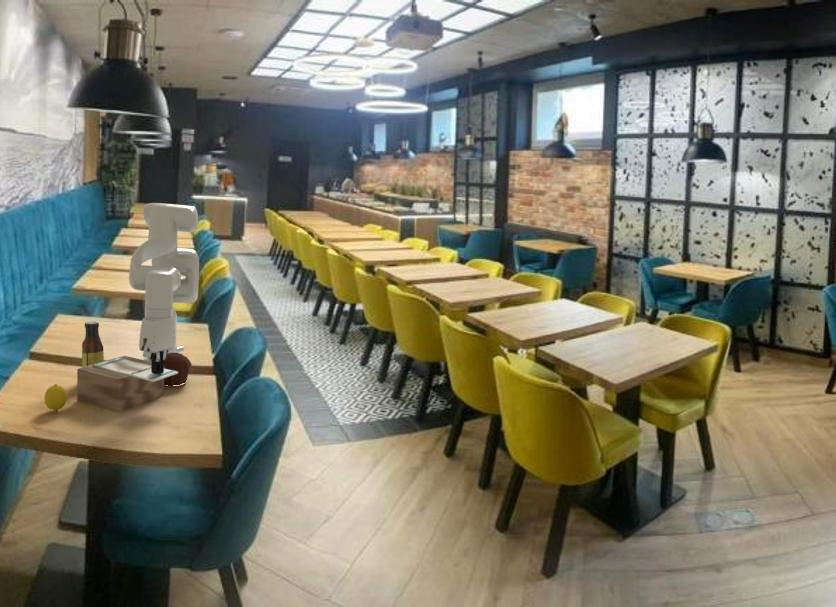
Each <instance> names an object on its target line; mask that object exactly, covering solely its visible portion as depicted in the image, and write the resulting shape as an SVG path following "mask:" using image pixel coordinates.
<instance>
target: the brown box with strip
mask: <svg viewBox="0 0 836 607" xmlns="http://www.w3.org/2000/svg"><path fill="white" fill-rule="evenodd" d="M149 369H151V362H150V361H145V360H144V359H140V358H136V357H133V356H132V357H131V356H128V355H122V356H119V357H115V358H112V359H111V358H110V359H108V360H104V362H100V363H96V364H93V365H89V366H86V367H79V368H77V369H76V371H77V372H76V373H77V374H76V375H77V377H76V379H77V380H76V381H77V382H76V383H77V384H76V385H77V386H76V387H77V389H76V394H77V395H76V396H77V399H76V400H77V402H79V403H80V402H81V403H83V404H84V403H85V404H88V405H91V406H95V407H99V408H103V409H106V410H109V411H112V412H113V411H114V412H117V413H121V412H123V411H126V410H128V409H131V408H133V407H134V408H135V407H137V406H139V405H142V404H144V403H145V404H146V402H150V401H153V400H154V399H157V398H160V397H163V396H164V393H165V392H164V391H165V388H164V387H165V386H164V378H163V379H160V380H157V381H155V382H153V381H149V380H145V379H141V378H137V377H133V376H132V375H133V374H136V373H139V372H143V371H146V370H149ZM162 395H163V396H162Z"/></svg>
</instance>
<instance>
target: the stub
mask: <svg viewBox="0 0 836 607" xmlns="http://www.w3.org/2000/svg"><path fill="white" fill-rule="evenodd" d="M175 374H178V372H177V371H174V370H168V369H164V373H162V374H155V373H152V372H151V369H149V370H146V371H143V372H139V373H136V374H133V375H132V376H133V377H137V378H141V379H145V380H149V381H153V382H155V381H157V380H160V379H163V378H166V377H169V376H172V375H175Z"/></svg>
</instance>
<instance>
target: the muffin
mask: <svg viewBox="0 0 836 607" xmlns="http://www.w3.org/2000/svg"><path fill="white" fill-rule="evenodd" d="M191 367H192V362H191V360H190V359H189V358H188V356H186V355H184V354H182V353H180V352H178V353H167V355H166V359H165V360H164V369H168V370H174V371H177V372H178V374H175V375H172V376H169V377H166V378H164V385H168V386H173V385H180V384H182V383H185V382H186V380H187V381H188V376H189V371H190V368H191ZM186 383H187V382H186Z"/></svg>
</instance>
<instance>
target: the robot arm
mask: <svg viewBox="0 0 836 607" xmlns="http://www.w3.org/2000/svg"><path fill="white" fill-rule="evenodd" d="M198 214H199V213H198V210H197V208H196V207H195V206H193V205H184V204H174V203H173V204H172V203H162V202H150V203H147V204H145V205H144V206H143V208H142V216H143V219H144V221H145V223H146V225H147V228H148V237H147V240H146V241H144V242H143V243H142V244H140V245H139V246H138V247H137V248H136V249H135V250H134V251H133V253H132V255H131V259H130V265H129V273H128V280H129V281H128V282H129V285H130V287H131V288H132V289H133V290H135V291H144V294H145V295H144V297H145V298H144V317H143V318H142V321H141V324H140V330H139V331H140V333H139V341H138V342H139V343H138V349H139V351H142V357H143V360H145V361H150V362H151V372H152V373H155V374H162V373H164V360H165V359H166V355H167V353H180V352H184V350H185V347H184V346H182V345H181V346H177V326H178V324H177V322H178V315H177V311H176V310H175V308H174V304H177V303H178V304H190V303H191V304H193V303H196V301H197V299H198V297H199V278H200V276H199V275H200V259H199V254H198V253H197V251H196V250H194V249H191V248H181V247H178V241H179V240H178V238H179V236H178V232H185V233H194V232H196V230H197V229H198V224H199V215H198ZM149 260H151V265H143V264H144V263H145V262H147V261H149Z"/></svg>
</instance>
